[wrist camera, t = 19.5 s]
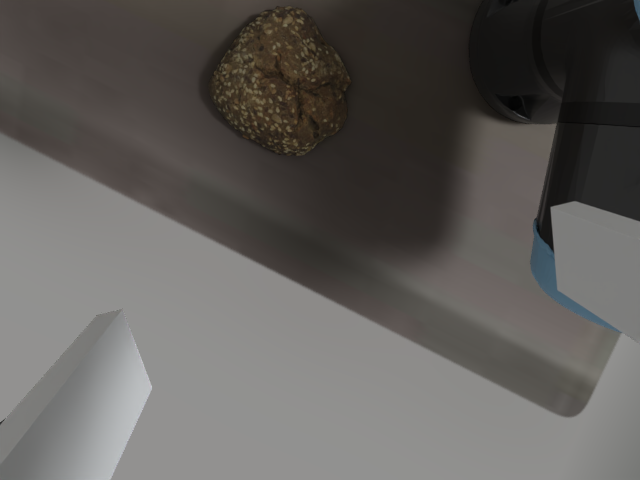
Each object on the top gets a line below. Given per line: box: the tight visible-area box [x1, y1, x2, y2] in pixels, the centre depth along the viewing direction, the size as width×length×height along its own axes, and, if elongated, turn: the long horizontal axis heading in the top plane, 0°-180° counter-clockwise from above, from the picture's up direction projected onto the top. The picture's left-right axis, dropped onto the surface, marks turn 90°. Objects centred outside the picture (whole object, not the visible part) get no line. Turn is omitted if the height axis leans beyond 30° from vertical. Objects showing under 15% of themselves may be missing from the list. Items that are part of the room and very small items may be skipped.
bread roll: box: [208, 6, 351, 156], centre depth 43 cm, size 13×12×5 cm
